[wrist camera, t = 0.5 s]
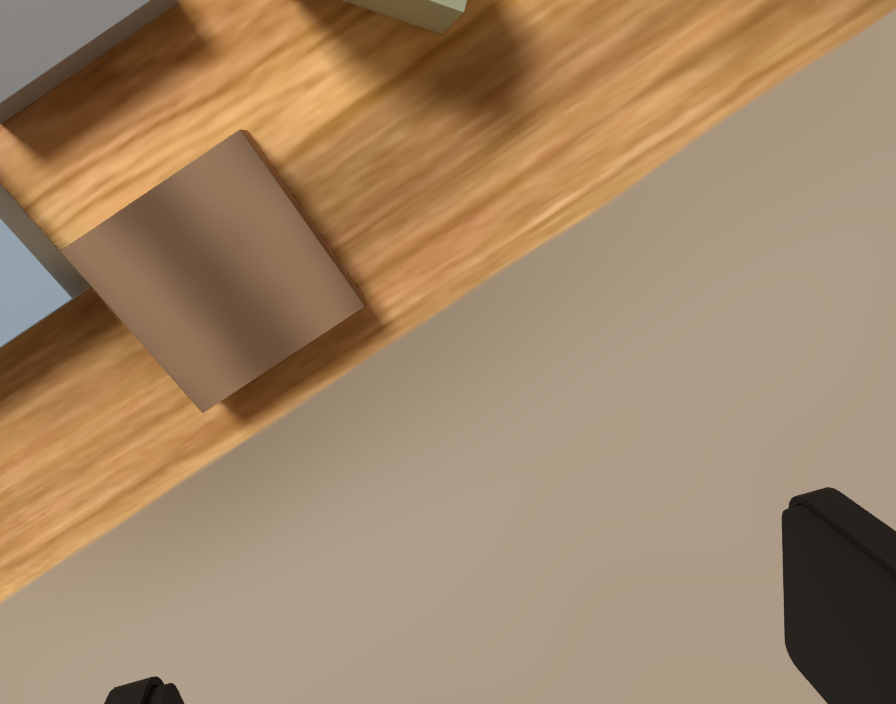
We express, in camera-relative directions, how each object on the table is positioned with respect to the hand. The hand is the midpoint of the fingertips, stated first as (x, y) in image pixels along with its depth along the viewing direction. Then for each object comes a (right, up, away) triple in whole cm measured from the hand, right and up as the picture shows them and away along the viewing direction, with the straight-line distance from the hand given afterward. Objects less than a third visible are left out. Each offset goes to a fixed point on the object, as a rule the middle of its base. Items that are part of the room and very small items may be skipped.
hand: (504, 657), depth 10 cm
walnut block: (-12, +9, +24) cm, 29 cm away
